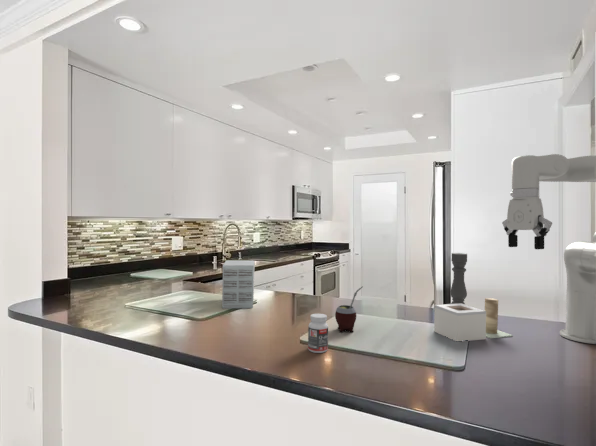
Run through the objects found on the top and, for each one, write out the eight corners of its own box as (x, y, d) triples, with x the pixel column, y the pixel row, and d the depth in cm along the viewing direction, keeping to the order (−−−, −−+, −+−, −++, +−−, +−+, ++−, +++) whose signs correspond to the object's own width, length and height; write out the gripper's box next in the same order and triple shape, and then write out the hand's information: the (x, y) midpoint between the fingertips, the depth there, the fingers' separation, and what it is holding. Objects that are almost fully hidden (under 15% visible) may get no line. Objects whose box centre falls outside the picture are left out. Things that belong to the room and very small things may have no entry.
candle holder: (468, 319, 140) (469, 254, 139) (451, 318, 141) (452, 253, 141) (464, 315, 146) (465, 253, 145) (448, 314, 147) (449, 252, 147)
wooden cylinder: (490, 329, 126) (491, 298, 125) (500, 333, 122) (501, 300, 122) (481, 330, 124) (482, 298, 124) (490, 334, 121) (491, 301, 120)
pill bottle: (321, 355, 101) (322, 319, 101) (304, 350, 104) (304, 316, 104) (331, 349, 106) (331, 314, 106) (314, 345, 109) (314, 311, 109)
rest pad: (490, 328, 129) (490, 327, 129) (512, 336, 120) (512, 335, 120) (469, 330, 126) (469, 329, 126) (490, 338, 117) (490, 337, 117)
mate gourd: (330, 330, 123) (331, 286, 123) (344, 325, 129) (345, 283, 129) (349, 335, 118) (350, 289, 118) (362, 330, 124) (363, 286, 124)
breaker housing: (460, 329, 127) (461, 303, 127) (485, 339, 117) (486, 311, 117) (434, 331, 124) (434, 305, 124) (457, 342, 114) (457, 313, 114)
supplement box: (224, 299, 168) (225, 260, 167) (254, 299, 169) (254, 260, 169) (221, 308, 150) (221, 264, 150) (253, 308, 152) (254, 265, 152)
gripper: (494, 196, 125) (494, 246, 125) (540, 192, 108) (541, 250, 108) (512, 196, 127) (512, 245, 127) (560, 192, 110) (560, 249, 110)
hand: (525, 248), depth 117 cm, fingers open, 9 cm apart
